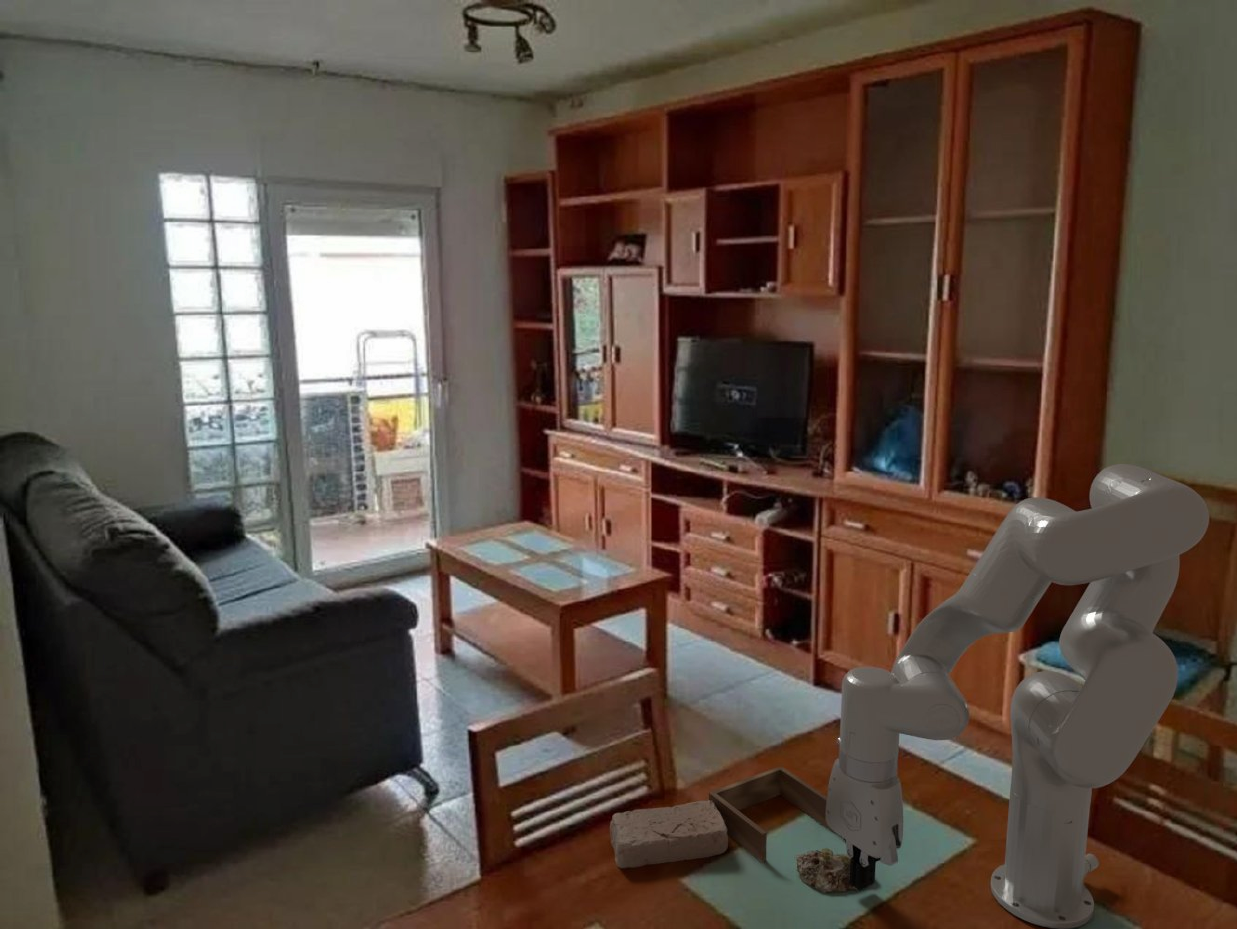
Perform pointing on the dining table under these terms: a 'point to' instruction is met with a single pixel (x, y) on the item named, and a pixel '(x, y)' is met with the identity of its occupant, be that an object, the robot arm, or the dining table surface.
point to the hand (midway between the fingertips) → (861, 884)
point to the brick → (668, 834)
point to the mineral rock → (825, 870)
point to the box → (759, 791)
